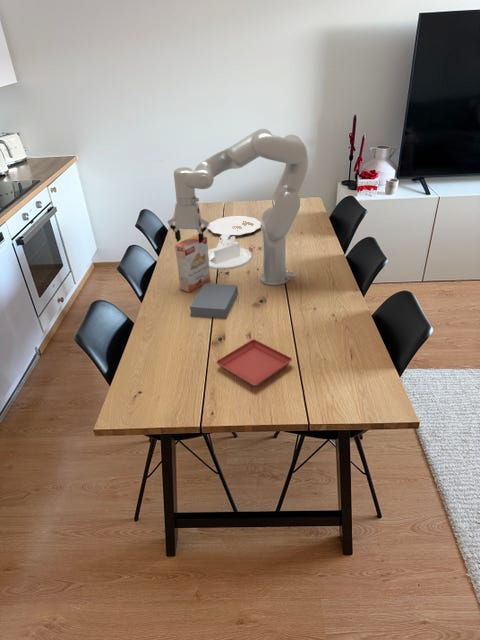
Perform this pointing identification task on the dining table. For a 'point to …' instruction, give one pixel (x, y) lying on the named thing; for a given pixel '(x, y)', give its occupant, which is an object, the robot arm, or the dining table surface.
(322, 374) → the dining table surface
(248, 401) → the dining table surface
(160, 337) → the dining table surface
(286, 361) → the plant saucer
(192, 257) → the cracker box
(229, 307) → the base block
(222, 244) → the dish
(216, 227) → the plate
